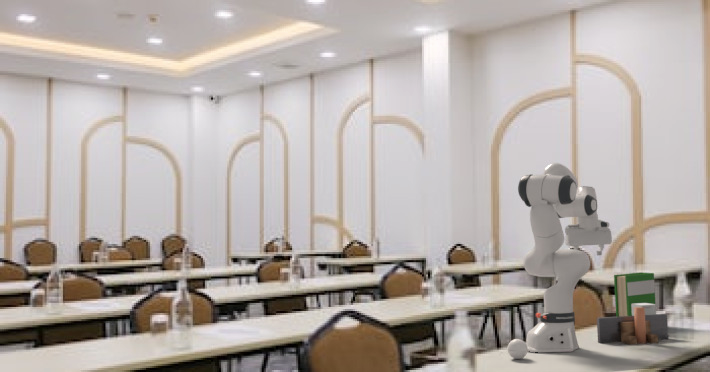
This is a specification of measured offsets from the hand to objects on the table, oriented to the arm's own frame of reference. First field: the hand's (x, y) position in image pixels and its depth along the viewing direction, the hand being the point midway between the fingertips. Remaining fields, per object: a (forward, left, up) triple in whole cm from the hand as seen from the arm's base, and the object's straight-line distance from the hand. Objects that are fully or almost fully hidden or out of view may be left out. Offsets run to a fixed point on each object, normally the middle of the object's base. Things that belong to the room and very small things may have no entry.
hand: (589, 255), depth 315 cm
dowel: (+9, -22, -34) cm, 42 cm away
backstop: (+9, -17, -34) cm, 39 cm away
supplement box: (+23, -2, -35) cm, 42 cm away
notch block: (+9, -21, -34) cm, 41 cm away
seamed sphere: (-50, -37, -35) cm, 71 cm away
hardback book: (+29, +15, -35) cm, 48 cm away
